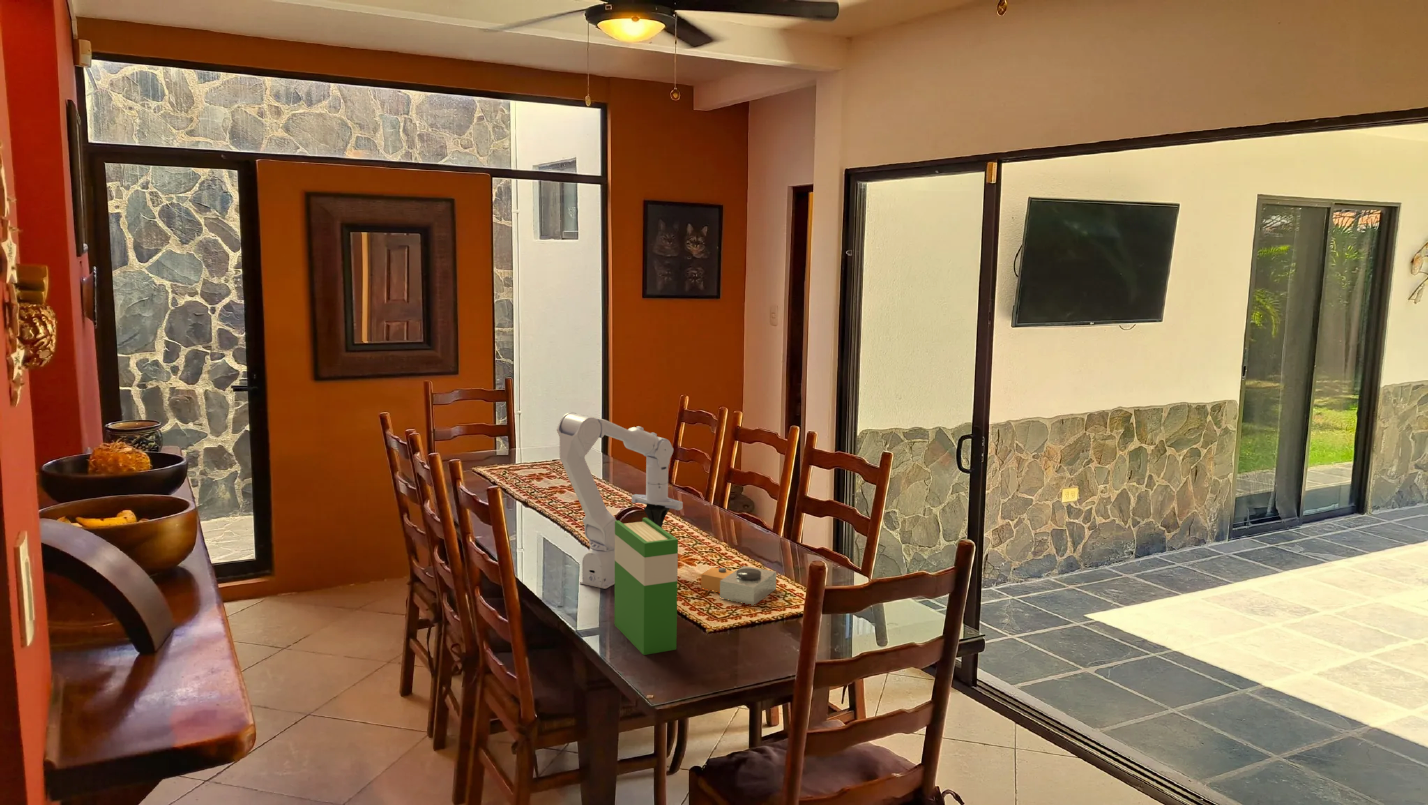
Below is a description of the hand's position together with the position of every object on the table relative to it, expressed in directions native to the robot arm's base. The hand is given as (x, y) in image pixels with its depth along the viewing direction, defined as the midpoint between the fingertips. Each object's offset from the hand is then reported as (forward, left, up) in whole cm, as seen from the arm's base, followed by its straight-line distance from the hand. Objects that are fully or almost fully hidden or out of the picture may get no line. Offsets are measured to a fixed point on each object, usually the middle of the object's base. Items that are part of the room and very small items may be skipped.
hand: (656, 532), depth 254 cm
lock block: (-6, -22, -10) cm, 24 cm away
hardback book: (-41, -22, -10) cm, 47 cm away
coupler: (-5, -27, -9) cm, 29 cm away
